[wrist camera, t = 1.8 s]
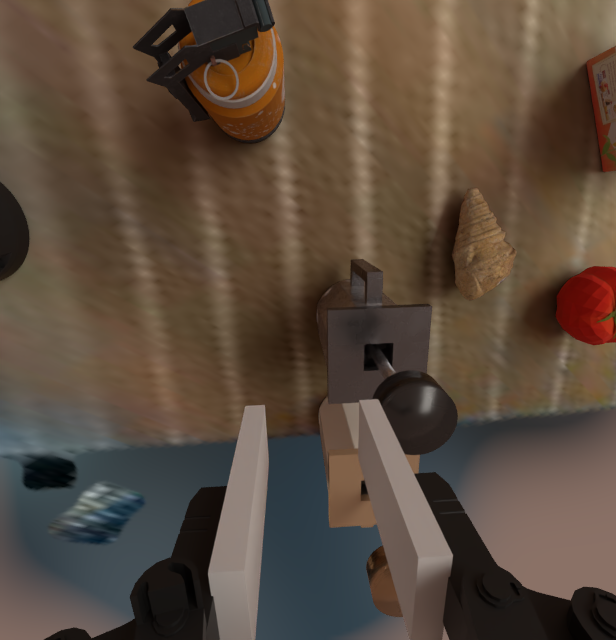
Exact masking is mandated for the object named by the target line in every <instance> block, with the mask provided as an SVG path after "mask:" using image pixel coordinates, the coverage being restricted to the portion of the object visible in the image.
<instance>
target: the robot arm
mask: <svg viewBox="0 0 616 640" xmlns="http://www.w3.org/2000/svg"><path fill="white" fill-rule="evenodd" d="M28 247H29V230H28V225H27V221H26V218H25V215H24V213H23V211H22V209H21V207H20V205H19V203H18V202H17V200H16V199H15V197H14V196H13V195H12V194H11V192H10V191H9V190H8V189H7V188H6V187H5V186H4V185H3V184H2V183H1V182H0V280H3V279H5V278H7V277H9V276H10V275H12V274H13V273H14V272H15V271H17V270H18V268H19V267H20V266H21V265H22V263H23V261H24V260H25V257H26V255H27V252H28ZM358 459H359V463H360V466H361V470H362V473H363V477H364V480H365V484H366V487H367V491H368V494H369V498H370V501H371V505H372V509H373V512H374V516H375V519H376V523H377V526H378V529H379V533H380V537H381V540H382V544H383V547H384V551H385V554H386V558H387V562H388V565H389V569H390V572H391V576H392V579H393V583H394V586H395V590H396V593H397V597H398V600H399V604H400V607H401V611H402V615H403V618H404V622H405V625H406V628H407V632H408V636H409V639H410V640H442V635H443V628H444V627H445V629H446V632H447V634H448V637H449V640H616V596H615V595H614V594H612V593H609V592H606V591H604V590H601V589H598V588H593V587H582V588H580V589H578V590H575V592H574V594H573V597H572V599H571V601H570V600H566V599H562V598H558V597H554V596H550V595H546V594H542V593H539V592H535V591H532V590H530V589H527V588H525V587H523V586H522V584H521V583H520V582H519V581H518V580H517V579H516V578H515V577H514V576H513V575H512V574H511V573H510V572H508V571H506V570H504V569H503V568H501V567H499V566H498V565H497V564H496V562H495V561H494V559H493V558H492V556H491V554H490V553H489V551H488V549H487V548H486V546H485V544H484V543H483V541H482V539H481V537H480V536H479V534H478V533H477V531H476V529H475V527H474V526H473V524H472V522H471V521H470V519H469V517H468V516H467V514H465V511H464V509H463V507H462V505H461V504H460V502H459V501H458V500H457V497H456V495H455V493H454V492H453V490H452V488H451V487H450V485H449V484H448V483H447V482H446V481H445V480H444V479H443V478H441V477H440V476H439V475H438V474H437V473H436V472H433V473H416V474H414V473H413V471H412V469H411V467H410V465H409V462H408V460H407V458H406V456H405V454H404V452H403V450H402V448H401V446H400V444H399V442H398V440H397V437H396V435H395V433H394V431H393V429H392V427H391V425H390V423H389V421H388V419H387V417H386V415H385V412H384V410H383V408H382V406H381V404H380V402H379V400H378V399H371V400H359V437H358ZM268 469H269V456H268V442H267V428H266V414H265V405H255V406H245V410H244V414H243V419H242V423H241V428H240V432H239V437H238V441H237V445H236V450H235V454H234V459H233V464H232V468H231V472H230V477H229V481H228V485H227V486H224V487H223V486H221V487H206V488H201V489H200V490H199V491H198V492H197V494H196V495H195V496H194V497H193V499H192V500H191V501H190V503H189V506H188V509H187V512H186V515H185V520H184V521H183V523H182V526H181V529H180V534H179V535H178V538H177V541H176V544H175V547H174V550H173V553H172V556H171V558H167V559H165V560H162V561H160V562H157V563H156V564H154V565H153V566H152V567H150V568H149V569H148V570H146V571H145V572H144V573H143V575H142V576H141V577H140V578H139V579H138V581H137V582H136V583H135V585H134V588H133V590H132V593H131V595H130V600H131V604H132V608H133V612H134V616H135V619H133V620H132V621H130V622H128V623H126V624H124V625H122V626H120V627H118V628H116V629H113V630H111V631H109V632H106V633H104V634H101V635H99V636H96V637H94V638H91V637H90V636H89V634H88V633H87V632H86V631H85V630H82V629H78V628H70V629H65V630H61V631H59V632H57V633H55V634H53V635H51V636H50V637H48V638H46V639H44V640H255V634H256V620H257V608H258V596H259V583H260V570H261V558H262V557H261V556H262V545H263V533H264V520H265V507H266V495H267V482H268Z"/></svg>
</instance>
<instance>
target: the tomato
mask: <svg viewBox="0 0 616 640" xmlns="http://www.w3.org/2000/svg"><path fill="white" fill-rule="evenodd" d="M556 318H557V320H558V322H559V324H560V325H561V327H562V329H564V330H565V331H566V332H567V333H569V334H570V335H571V336H572V337H574V338H575V339H577V340H580V341H582V342H585V343H588V344H591V345H599V344H604V343H609V342H616V268H615V267H600V266H594V267H590V268H587V269H586V270H584V271H583V272H582V273H580V274H578V275H576V276H574V277H572V278H570V279H569V280H568V281H567V282H566V283H565V284H564V285H563V287H562V288H561V289H560V291H559V293H558V295H557V311H556Z"/></svg>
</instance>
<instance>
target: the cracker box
mask: <svg viewBox="0 0 616 640" xmlns="http://www.w3.org/2000/svg"><path fill="white" fill-rule="evenodd" d="M587 70H588V76H589V83H590V89H591V96H592V103H593V108H594V115H595V122H596V128H597V135H598V141H599V148H600V154H601V161H602V168H603V172H608V171H616V46H615V47H613V48H611V49H609V50H607V51H605V52H603V53H601V54H600V55H598V56H596V57H594V58H592V59H590V60H589V61H587Z"/></svg>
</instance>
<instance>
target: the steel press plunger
mask: <svg viewBox="0 0 616 640" xmlns="http://www.w3.org/2000/svg"><path fill="white" fill-rule="evenodd" d="M390 344H391V343H379V344H364V367H371V366H377V367H378V369H379V371H380V372H381V374H382V376H383V378H384V379H385V380H384V381H383V382H382V383H381V384H380V385H379V386H378V387H377V389H376V391H375V393H374V395H373V398H372V399H378V400H379V402H380V404H381V406H382V408H383V410H384V412H385V415H386V417H387V419H388V421H389V423H390V425H391V427H392V429H393V431H394V433H395V435H396V437H397V440H398V442H399V444H400V446H401V448H402V450H403V452H404V454H406V455H421V454H426V453H429V452H431V451H434V450H436V449H437V448H439V447H440V446H442V445H443V444H444V443H445V442H446V441H447V440H448V439H449V438H450V437H451V435H452V434H453V432H454V430H455V428H456V425H457V417H458V415H457V409H456V406H455V404H454V402H453V400H452V399H451V398H450V397H449V396H448V394H447V393H446V392H445V391H444V390H443V389H442V388H441V386H440V385H439V384H438V383H437V382H436V381H435V380H434V379H433V378H432V377H431V376H429V375H428V374H426V373H423V372H420V371H415V370H407V371H401V372H398V373H396V372H395V371H394V369H393V368H392V366H391V365H390Z"/></svg>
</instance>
